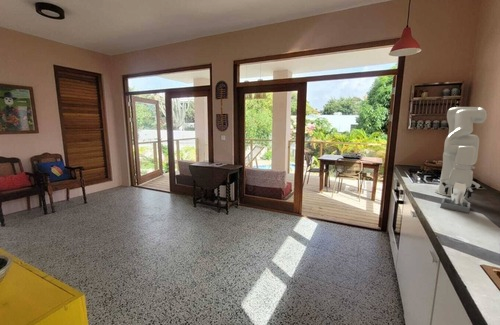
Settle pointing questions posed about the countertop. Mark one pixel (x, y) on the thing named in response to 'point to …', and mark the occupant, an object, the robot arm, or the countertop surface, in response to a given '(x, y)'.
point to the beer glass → (458, 194)
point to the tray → (455, 206)
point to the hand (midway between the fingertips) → (457, 195)
